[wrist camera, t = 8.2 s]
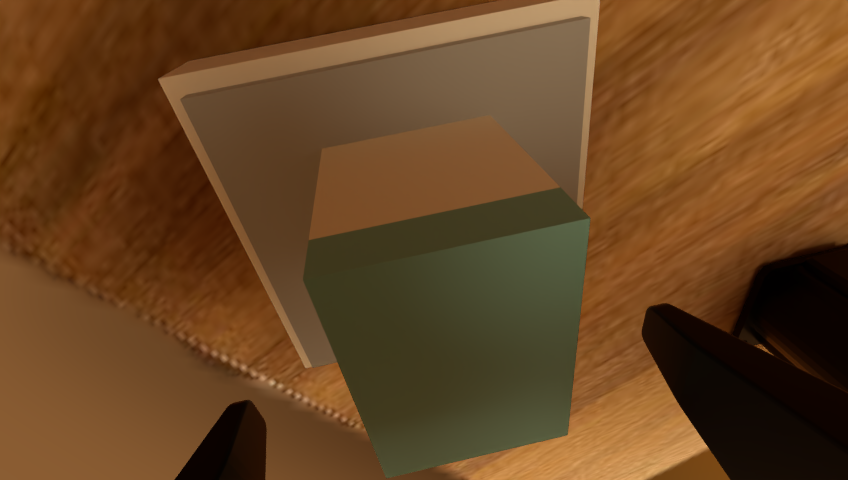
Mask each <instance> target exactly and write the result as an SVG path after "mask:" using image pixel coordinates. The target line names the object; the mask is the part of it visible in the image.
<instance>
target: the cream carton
mask: <svg viewBox="0 0 848 480" xmlns="http://www.w3.org/2000/svg"><path fill="white" fill-rule="evenodd" d="M589 227H590V217H589V216H588V215H587V214H586V213H585V212H584V211H583V210H582V209H581V208H580V207H579V206H578V205H577V204H576V203H575V202H574V201H573V200H572V199H571V198H570V197H569V196H568V195H567V194H566V193H565V191H564V190H563V189H562V188H561V187H560V186H559V185H558V184H557V183H556V182H555V181H554V180H553V179H552V178H551V177H550V176H549V175H548V174H547V173H546V172H545V171H544V170H543V169H542V168H541V167H540V166H539V165H538V164H537V163H536V162H535V161H534V160H533V159H532V158H531V157H530V156H529V155H528V154H527V152H526V151H525V150H524V149H523V148H522V147H521V146H520V145H519V144H518V143H517V142H516V141H515V140H514V139H513V138H512V137H511V136H510V135H509V134H508V133H507V132H506V131H505V130H504V129H503V128H502V127H501V126H500V125H499V124H498V123H497V122H496V121H495V120H494V119H493V118H492V117H491V116H490V115H488V116H483V117H478V118H473V119H468V120H463V121H458V122H453V123H448V124H443V125H438V126H433V127H428V128H423V129H418V130H413V131H408V132H403V133H398V134H393V135H388V136H383V137H378V138H373V139H368V140H363V141H358V142H353V143H348V144H343V145H338V146H333V147H328V148H323V149H322V152H321V159H320V166H319V172H318V179H317V186H316V193H315V200H314V207H313V213H312V220H311V227H310V234H309V241H308V248H307V254H306V261H305V268H304V275H303V281H304V284H305V286H306V289H307V291H308V293H309V296H310V298H311V300H312V303H313V305H314V308H315V310H316V312H317V315H318V317H319V319H320V322H321V324H322V327H323V329H324V331H325V334H326V336H327V338H328V341H329V343H330V345H331V348H332V350H333V353H334V355H335V357H336V360H337V362H338V364H339V367H340V369H341V372H342V374H343V376H344V379H345V381H346V383H347V386H348V388H349V391H350V393H351V395H352V398H353V400H354V402H355V405H356V407H357V409H358V412H359V414H360V417H361V419H362V421H363V424H364V426H365V428H366V431H367V433H368V436H369V438H370V440H371V443H372V445H373V447H374V450H375V452H376V455H377V457H378V459H379V462H380V464H381V466H382V469H383V471H384V473H385V476H386V478H390V477H394V476H398V475H402V474H406V473H411V472H415V471H419V470H423V469H427V468H432V467H436V466H440V465H444V464H448V463H453V462H457V461H461V460H465V459H469V458H474V457H478V456H482V455H486V454H490V453H494V452H499V451H503V450H507V449H511V448H515V447H520V446H524V445H528V444H532V443H536V442H541V441H545V440H549V439H553V438H557V437H562V436H566V435H568V426H569V417H570V407H571V398H572V388H573V379H574V369H575V360H576V350H577V341H578V331H579V322H580V313H581V303H582V294H583V284H584V275H585V265H586V256H587V246H588V237H589Z"/></svg>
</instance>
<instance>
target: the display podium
mask: <svg viewBox="0 0 848 480" xmlns="http://www.w3.org/2000/svg"><path fill="white" fill-rule="evenodd" d="M599 6H600V0H499V1H494V2H488V3H483V4H478V5H473V6H468V7H463V8H458V9H453V10H448V11H442V12H437V13H432V14H427V15H422V16H417V17H412V18H407V19H401V20H396V21H391V22H386V23H381V24H376V25H371V26H366V27H361V28H355V29H350V30H345V31H340V32H335V33H330V34H325V35H320V36H314V37H309V38H304V39H299V40H294V41H289V42H284V43H279V44H274V45H268V46H263V47H258V48H253V49H248V50H243V51H238V52H233V53H227V54H222V55H217V56H212V57H207V58H202V59H197V60H192V61H188V62H186V63H185V64H183V65H181V66H179V67H178V68H176V69H174V70H172V71H171V72H169V73H167V74H165V75H164V76H162V77H160V78H158V80H159V82H160V84H161V86H162V88H163V90H164V92H165V94H166V96H167V98H168V100H169V102H170V104H171V106H172V108H173V110H174V112H175V114H176V116H177V118H178V120H179V122H180V124H181V125H182V127H183V129H184V131H185V133H186V135H187V137H188V139H189V141H190V143H191V145H192V147H193V149H194V151H195V153H196V155H197V157H198V159H199V161H200V163H201V165H202V167H203V169H204V170H205V172H206V174H207V176H208V178H209V180H210V182H211V184H212V186H213V188H214V190H215V192H216V194H217V196H218V198H219V200H220V202H221V204H222V206H223V208H224V210H225V212H226V214H227V215H228V217H229V219H230V221H231V223H232V225H233V227H234V229H235V231H236V233H237V235H238V237H239V239H240V241H241V243H242V245H243V247H244V249H245V251H246V253H247V255H248V257H249V259H250V261H251V262H252V264H253V266H254V268H255V270H256V272H257V274H258V276H259V278H260V280H261V282H262V284H263V286H264V288H265V290H266V292H267V294H268V296H269V298H270V300H271V302H272V304H273V306H274V307H275V309H276V311H277V313H278V315H279V317H280V319H281V321H282V323H283V325H284V327H285V329H286V331H287V333H288V335H289V337H290V339H291V341H292V343H293V345H294V347H295V349H296V351H297V352H298V354H299V356H300V358H301V360H302V362H303V364H304V366H305V368H309V367H312V368H314V367H318V366H323V365H327V364H332V363H336V362H337V360H336V357H335V355H334V353H333V350H332V348H331V345H330V343H329V341H328V338H327V336H326V334H325V331H324V329H323V327H322V324H321V322H320V319H319V317H318V315H317V312H316V310H315V308H314V305H313V303H312V300H311V298H310V296H309V293H308V291H307V289H306V286H305V284H304V281H303V275H304V268H305V261H306V254H307V248H308V241H309V234H310V227H311V220H312V213H313V207H314V200H315V193H316V186H317V179H318V172H319V166H320V159H321V152H322V149H323V148H328V147H333V146H338V145H343V144H348V143H353V142H358V141H363V140H368V139H373V138H378V137H383V136H388V135H393V134H398V133H403V132H408V131H413V130H418V129H423V128H428V127H433V126H438V125H443V124H448V123H453V122H458V121H463V120H468V119H473V118H478V117H483V116H488V115H490V116H491V117H492V118H493V119H494V120H495V121H496V122H497V123H498V124H499V125H500V126H501V127H502V128H503V129H504V130H505V131H506V132H507V133H508V134H509V135H510V136H511V137H512V138H513V139H514V140H515V141H516V142H517V143H518V144H519V145H520V146H521V147H522V148H523V149H524V150H525V151H526V152H527V154H528V155H529V156H530V157H531V158H532V159H533V160H534V161H535V162H536V163H537V164H538V165H539V166H540V167H541V168H542V169H543V170H544V171H545V172H546V173H547V174H548V175H549V176H550V177H551V178H552V179H553V180H554V181H555V182H556V183H557V184H558V185H559V186H560V187H561V188H562V189H563V190H564V191H565V193H566V194H567V195H568V196H569V197H570V198H571V199H572V200H573V201H574V202H575V203H576V204H577V205H578V206H579V207H580V208H581V209H583V197H584V185H585V173H586V161H587V150H588V138H589V126H590V114H591V102H592V90H593V78H594V66H595V54H596V42H597V30H598V18H599Z"/></svg>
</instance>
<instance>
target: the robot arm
mask: <svg viewBox="0 0 848 480" xmlns="http://www.w3.org/2000/svg"><path fill="white" fill-rule="evenodd" d="M642 337H643V340H644V342H645V344H646V346H647V348H648V350H649V351H650V353H651V355H652V357H653V359H654V360H655V362H656V364H657V366H658V368H659V370H660V371H661V373H662V375H663V377H664V379H665V381H666V382H667V384H668V386H669V388H670V390H671V392H672V393H673V395H674V397H675V398H676V400H677V402H678V403H679V405H680V407H681V408H682V410H683V411H684V413H685V414H686V416H687V417H688V418H689V420H690V421H691V423H692V424H693V426H694V427H695V429H696V430H697V432H698V433H699V435H700V436H701V437H702V439H703V440H704V442H705V443H706V445H707V446H708V448H709V449H710V451H711V452H712V453H713V455H714V456H715V458H716V459H717V461H718V462H719V464H720V465H721V467H722V468H723V470H724V471H725V472H726V474H727V475H728V477H729V478H730V480H848V246H846V247H842V248H838V249H833V250H829V251H825V252H820V253H816V254H811V255H807V256H803V257H798V258H794V259H790V260H785V261H781V262H777V263H772V264H769V265H766V266H765V267H763V268H762V269H761V270H760V271H759V273H758V275H757V278H756V280H755V282H754V285H753V287H752V290H751V292H750V294H749V297H748V299H747V301H746V304H745V306H744V309H743V311H742V313H741V316H740V318H739V321H738V323H737V325H736V328H735V330H734V332H733V335H731V334H729V333H727V332H725V331H723V330H721V329H719V328H717V327H715V326H713V325H711V324H709V323H707V322H705V321H703V320H701V319H699V318H697V317H695V316H693V315H691V314H689V313H687V312H685V311H683V310H681V309H679V308H677V307H675V306H673V305H670V304H667V303H663V304H658V305H654V306H650V307H649V308H648V309H647V310H646V314H645V319H644V323H643V327H642ZM758 344H762V345H763V346H764V347H765V348H766V349H767V350H768V351H769V352H770V353H772V354H773V355H774V356H773V355H771V354H769V353H767V352H765V351H763V350H761V349H759V348H757V347H755V346H754V345H758ZM266 432H267V431H266V423H265V420H264V418H263V417H262V415H261V414H260V412H259V411H258V410H257V408H256V407H255V405H254V404H253V403H252V401H250V400H244V401H239V402H235V403H232V404H230V405H229V406H228V407H227V408H226V410H225V411H224V412H223V414H222V415H221V417H220V418H219V419H218V421H217V422H216V423H215V425H214V426H213V427H212V429H211V430H210V432H209V433H208V434H207V436H206V437H205V439H204V440H203V441H202V443H201V444H200V446H199V447H198V448H197V450H196V451H195V452H194V454H193V455H192V456H191V458H190V459H189V461H188V462H187V463H186V465H185V466H184V467H183V469H182V470H181V472H180V473H179V474H178V476H177V477H176V478H175V480H265V472H266Z"/></svg>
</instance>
